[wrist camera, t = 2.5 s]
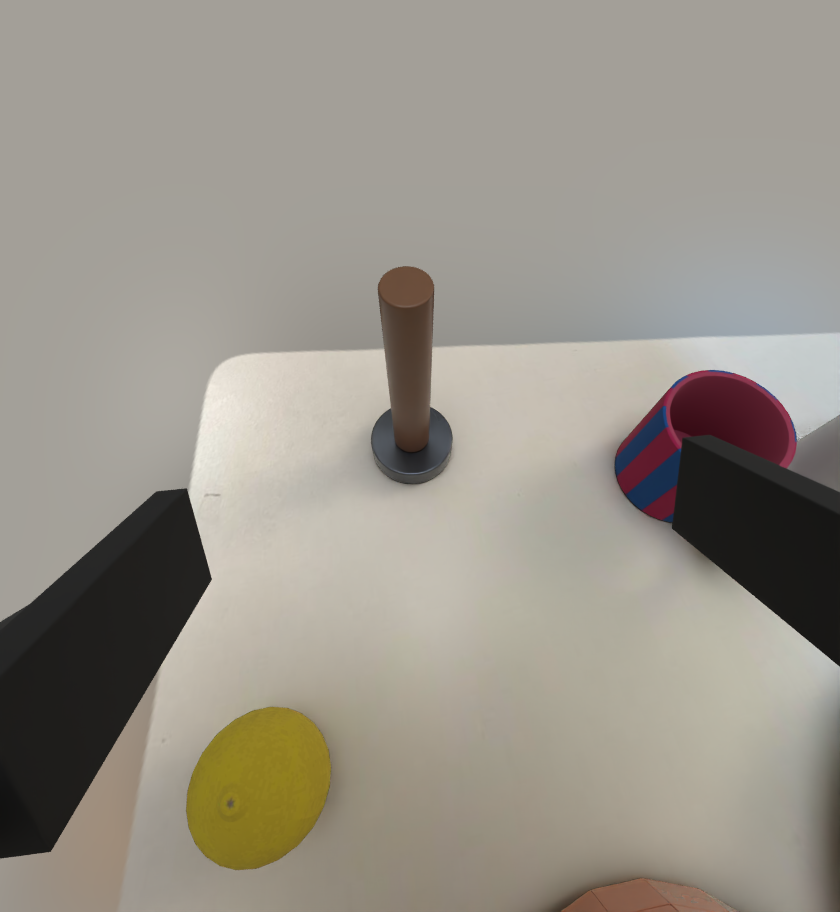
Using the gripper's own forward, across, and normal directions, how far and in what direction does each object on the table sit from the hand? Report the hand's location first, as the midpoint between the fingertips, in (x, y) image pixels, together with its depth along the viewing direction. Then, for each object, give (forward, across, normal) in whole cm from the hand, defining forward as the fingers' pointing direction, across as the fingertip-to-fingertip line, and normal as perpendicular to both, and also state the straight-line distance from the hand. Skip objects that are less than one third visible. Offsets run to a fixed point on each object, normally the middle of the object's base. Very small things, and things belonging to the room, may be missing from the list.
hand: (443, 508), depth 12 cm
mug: (+15, +16, -8) cm, 23 cm away
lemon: (+6, -8, -17) cm, 20 cm away
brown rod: (+18, 0, -4) cm, 19 cm away
